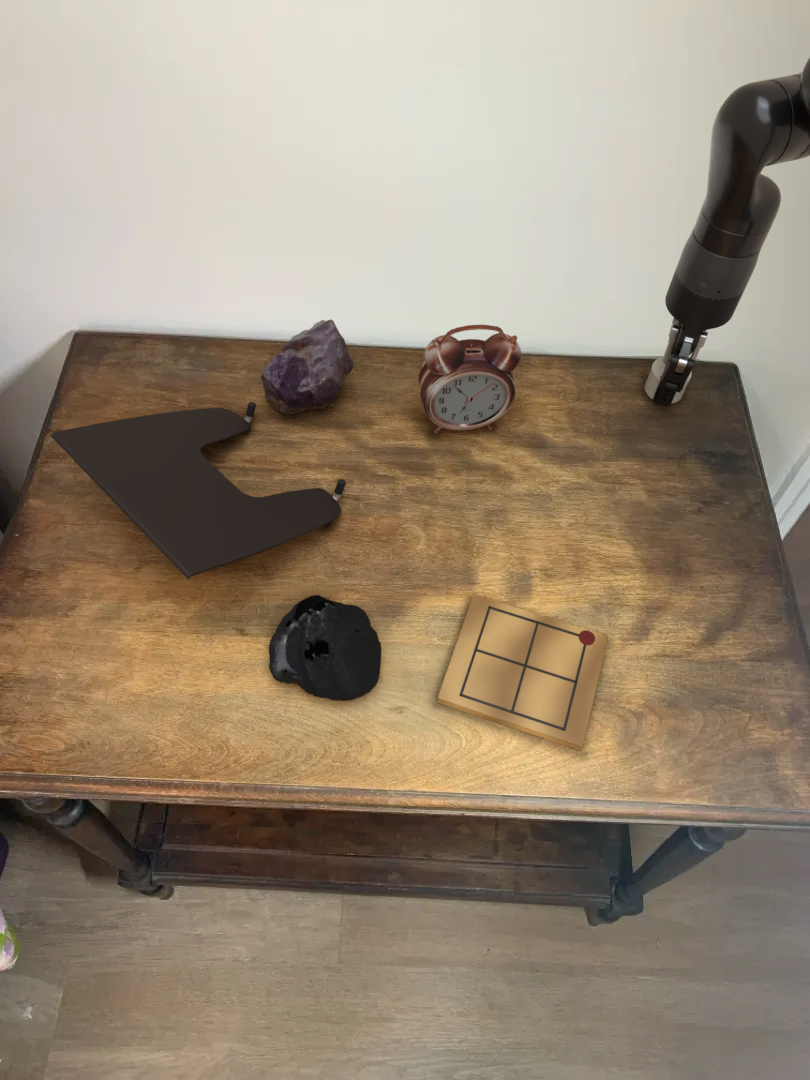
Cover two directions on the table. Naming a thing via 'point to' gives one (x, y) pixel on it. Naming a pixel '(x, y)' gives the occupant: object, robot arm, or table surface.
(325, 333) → the rock
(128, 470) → the laptop tray
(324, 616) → the rock
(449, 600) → the table surface
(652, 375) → the stone
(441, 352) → the alarm clock
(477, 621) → the board
